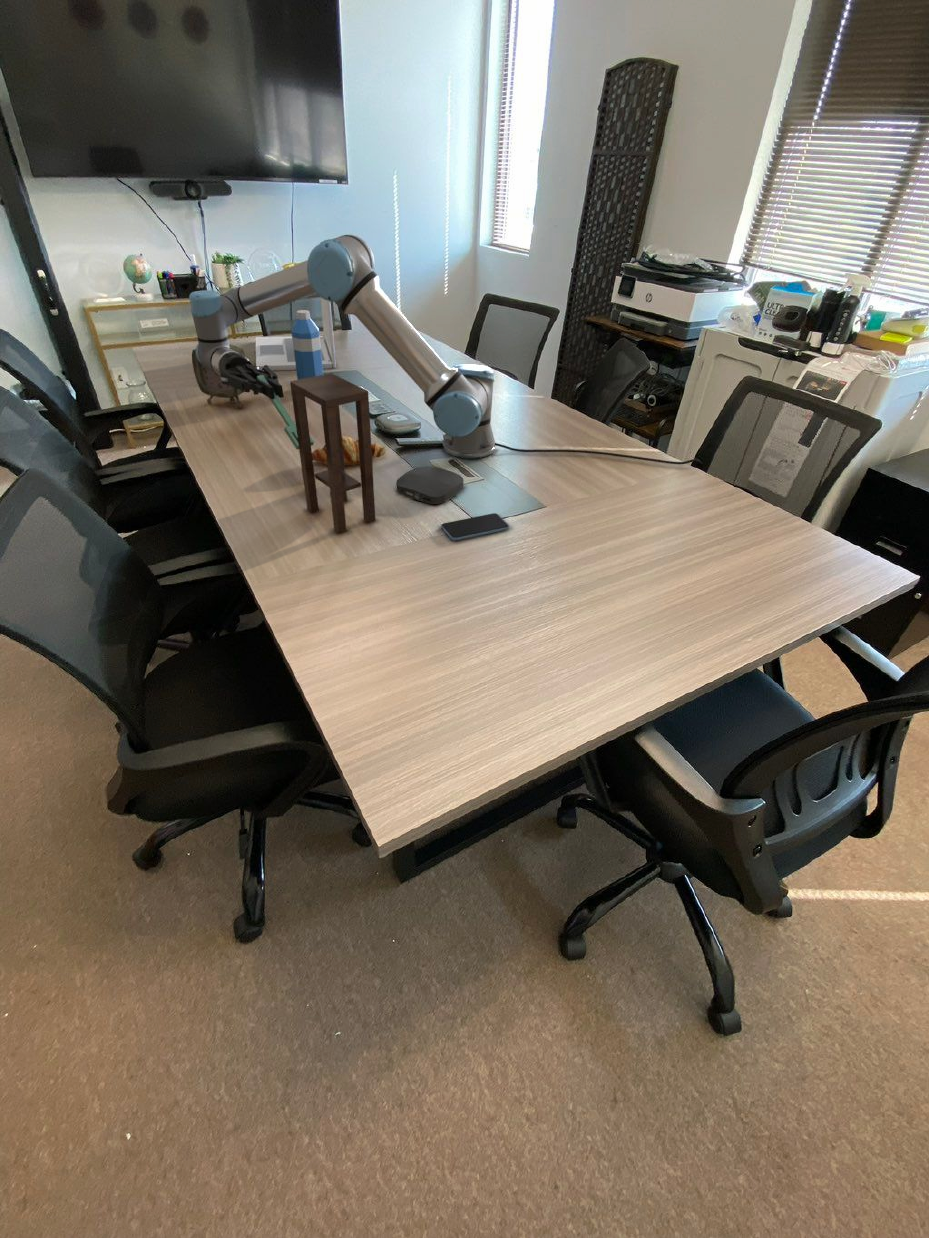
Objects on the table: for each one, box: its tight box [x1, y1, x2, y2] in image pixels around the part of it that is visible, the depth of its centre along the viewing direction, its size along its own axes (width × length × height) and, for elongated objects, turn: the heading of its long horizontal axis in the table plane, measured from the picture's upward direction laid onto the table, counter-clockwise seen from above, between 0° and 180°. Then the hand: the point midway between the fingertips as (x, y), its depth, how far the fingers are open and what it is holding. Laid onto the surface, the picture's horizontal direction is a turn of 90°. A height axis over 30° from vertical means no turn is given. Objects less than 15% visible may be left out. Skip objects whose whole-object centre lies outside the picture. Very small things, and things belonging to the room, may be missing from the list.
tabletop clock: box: [191, 343, 247, 409], centre depth 187 cm, size 14×9×25 cm, turn 76°
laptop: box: [255, 296, 337, 371], centre depth 231 cm, size 40×29×28 cm
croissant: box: [312, 435, 387, 467], centre depth 164 cm, size 21×10×8 cm, turn 111°
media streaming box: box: [396, 465, 465, 505], centre depth 154 cm, size 15×15×3 cm
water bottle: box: [291, 309, 324, 380], centre depth 200 cm, size 9×9×25 cm
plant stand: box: [289, 372, 376, 535], centre depth 133 cm, size 14×10×30 cm
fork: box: [257, 375, 315, 450], centre depth 144 cm, size 22×4×1 cm
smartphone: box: [440, 512, 510, 541], centre depth 140 cm, size 7×1×15 cm
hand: (276, 392), depth 142 cm, fingers closed on fork, 2 cm apart
